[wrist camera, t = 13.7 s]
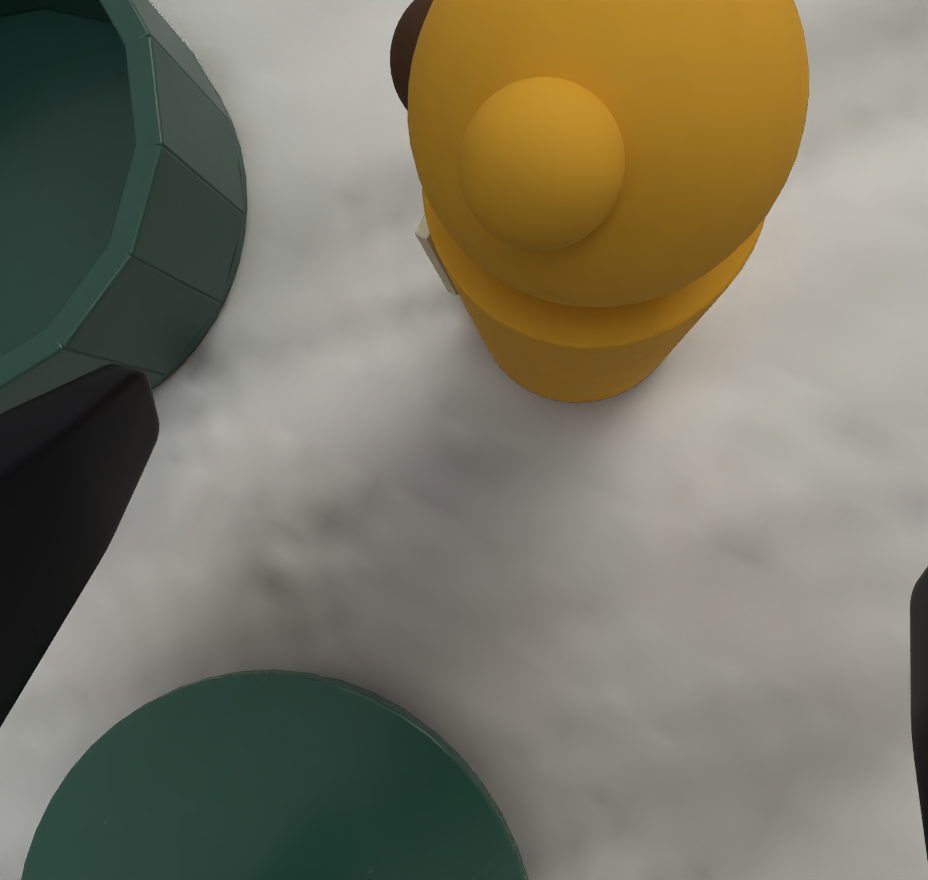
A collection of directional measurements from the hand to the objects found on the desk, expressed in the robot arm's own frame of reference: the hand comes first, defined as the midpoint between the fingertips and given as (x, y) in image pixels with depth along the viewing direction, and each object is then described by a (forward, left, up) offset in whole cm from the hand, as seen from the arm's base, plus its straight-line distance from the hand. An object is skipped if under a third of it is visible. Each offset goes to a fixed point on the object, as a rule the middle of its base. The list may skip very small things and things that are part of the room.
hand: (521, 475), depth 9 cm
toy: (+3, +3, -11) cm, 12 cm away
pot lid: (-11, -6, -11) cm, 17 cm away
